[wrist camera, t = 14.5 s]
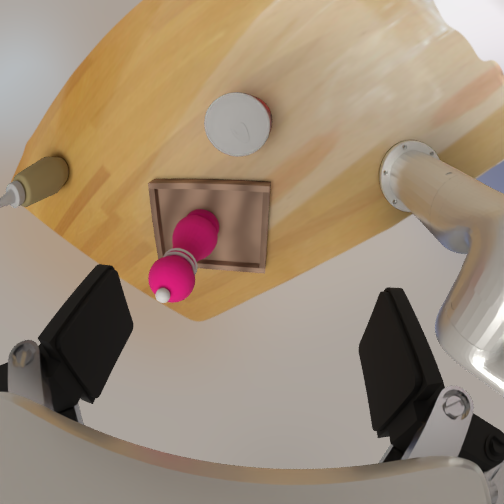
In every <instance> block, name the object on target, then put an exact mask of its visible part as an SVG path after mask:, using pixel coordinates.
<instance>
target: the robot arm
mask: <svg viewBox="0 0 504 504" xmlns="http://www.w3.org/2000/svg"><path fill="white" fill-rule="evenodd" d="M403 145H404V147H403ZM384 170H385V172H384ZM379 182H380V187H381V190H382V193H383V194H384V196H385V198H386V199H387V200H388V202H389V203H390V204H391V205H392V206H394V207H395V208H397V209H399V210H401V211H405V212H412V213H413V214H414V215H415V216H416V217H417V218H418V219H419V220H420V221H421V222H422V223H423V224H424V226H425V227H426V228H427V229H428V230H429V231H430V232H431V233H432V234H433V235H434V236H435V237H436V239H438V241H439V242H440V243H441V244H442V245H443V246H444V247H446V248H447V249H449V250H450V251H453V252H456V253H461V254H467V256H466V259H465V261H464V263H463V265H462V269H461V271H460V273H459V275H458V277H457V279H456V280H455V282H454V284H453V286H452V288H451V290H450V292H449V294H448V296H447V297H446V300H445V301H444V303H443V305H442V307H441V309H440V311H439V313H438V315H437V318H436V322H435V333H436V337H437V340H438V342H439V344H440V345H441V347H442V348H443V350H444V351H445V352H446V353H447V354H448V355H449V356H450V357H451V358H452V359H453V360H454V361H455V362H456V363H458V364H459V365H460V366H462V367H463V368H464V369H465V370H467V371H468V372H470V373H471V374H472V375H474V376H475V377H477V378H478V379H479V380H481V381H482V382H484V383H485V384H486V385H488V386H489V387H490V388H492V389H493V390H495V391H496V392H497V393H499V394H500V395H501V396H502V397H504V194H503V193H501V192H499V191H496V190H494V189H492V188H491V187H489V186H487V185H485V184H483V183H481V182H480V181H478V180H476V179H475V178H473V177H471V176H469V175H467V174H465V173H464V172H462V171H460V170H458V169H456V168H454V167H452V166H450V165H448V164H446V163H444V162H442V161H440V159H439V157H438V155H437V154H436V152H435V151H434V150H433V149H432V148H431V147H430V146H428V145H426V144H425V143H422V142H419V141H416V140H407V141H402V142H400V143H398V144H396V145H395V146H393V147H392V148H391V149H390V150H389V151H388V152H387V154H386V155H385V157H384V158H383V161H382V163H381V166H380V171H379ZM393 200H394V201H393ZM132 330H133V321H132V318H131V315H130V312H129V309H128V306H127V302H126V299H125V296H124V293H123V290H122V286H121V283H120V279H119V275H118V272H117V271H116V270H114V268H113V266H110V265H101V264H99V265H97V266H96V267H95V268H94V269H93V270H92V271H91V272H90V273H89V275H88V276H87V277H86V278H85V279H84V280H83V282H82V283H81V284H80V285H79V286H78V287H77V289H76V290H75V291H74V292H73V293H72V295H71V296H70V297H69V298H68V300H67V301H66V302H65V303H64V304H63V306H62V307H61V308H60V309H59V311H58V312H57V313H56V315H55V316H54V317H53V319H52V320H51V321H50V322H49V324H48V325H47V326H46V328H45V329H44V330H43V332H42V333H41V334H40V336H39V337H38V339H39V341H40V343H41V344H40V345H39V346H38V345H37V343H36V342H34V341H32V340H25V341H22V342H20V343H18V344H17V345H16V346H14V348H13V349H12V350H11V352H10V354H9V359H8V363H5V364H3V365H0V504H504V433H503V432H502V431H500V430H499V429H497V428H496V427H494V426H493V425H491V424H489V423H488V422H486V421H485V420H483V419H481V418H480V417H478V416H477V415H475V414H473V409H474V406H473V401H472V398H471V396H470V395H469V394H468V392H467V391H466V390H464V389H463V388H461V387H458V386H449V387H446V388H445V387H444V384H443V380H442V377H441V374H440V372H439V369H438V366H437V364H436V361H435V359H434V356H433V354H432V351H431V349H430V347H429V344H428V342H427V339H426V337H425V335H424V332H423V330H422V328H421V326H420V324H419V321H418V319H417V317H416V315H415V313H414V311H413V309H412V307H411V305H410V303H409V300H408V298H407V296H406V294H405V292H404V291H403V289H402V288H386V289H385V290H384V292H380V294H379V296H378V300H377V302H376V305H375V307H374V310H373V312H372V315H371V317H370V320H369V322H368V325H367V327H366V330H365V332H364V334H363V337H362V339H361V341H360V344H359V355H360V360H361V365H362V370H363V375H364V380H365V386H366V391H367V397H368V403H369V408H370V415H371V421H372V427H373V430H374V431H377V435H378V438H381V437H388V436H390V442H391V445H390V446H389V448H388V449H387V451H386V453H385V454H384V455H383V457H382V459H381V460H380V461H379V463H378V464H371V465H363V466H353V467H341V468H326V469H270V468H255V467H243V466H235V465H227V464H219V463H212V462H207V461H201V460H195V459H191V458H186V457H181V456H177V455H172V454H168V453H164V452H160V451H157V450H153V449H150V448H146V447H143V446H139V445H136V444H133V443H130V442H127V441H124V440H121V439H118V438H115V437H112V436H110V435H107V434H104V433H102V432H99V431H97V430H94V429H92V428H90V427H87V426H85V425H84V423H83V420H82V416H81V412H80V409H79V405H78V401H79V399H80V398H81V399H82V400H84V401H86V402H89V403H91V404H93V402H94V400H95V398H98V397H99V396H100V394H101V392H102V390H103V388H104V386H105V384H106V382H107V380H108V377H109V375H110V373H111V371H112V369H113V367H114V365H115V363H116V361H117V359H118V357H119V355H120V353H121V351H122V349H123V348H124V346H125V344H126V342H127V340H128V338H129V336H130V334H131V332H132Z"/></svg>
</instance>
